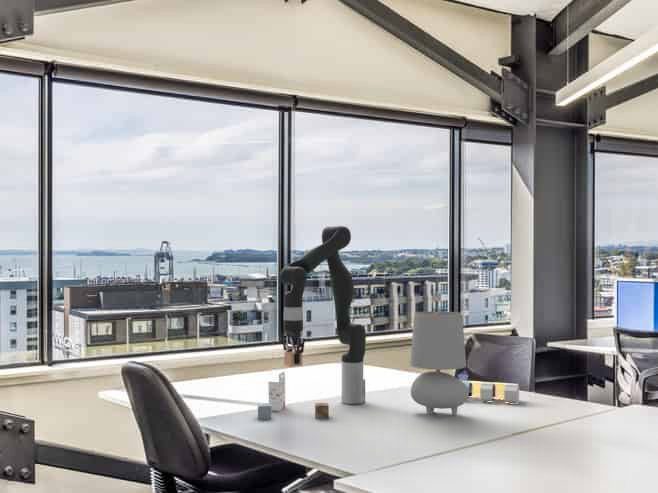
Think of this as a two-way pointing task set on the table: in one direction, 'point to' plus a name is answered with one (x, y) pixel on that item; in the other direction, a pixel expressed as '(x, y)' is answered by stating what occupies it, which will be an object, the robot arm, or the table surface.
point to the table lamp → (438, 360)
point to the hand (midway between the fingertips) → (293, 362)
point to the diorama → (491, 390)
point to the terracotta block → (291, 359)
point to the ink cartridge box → (277, 392)
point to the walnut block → (321, 410)
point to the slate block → (264, 411)
